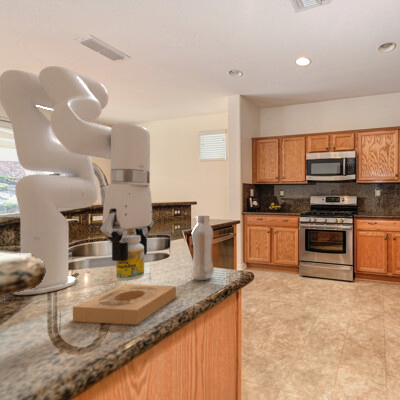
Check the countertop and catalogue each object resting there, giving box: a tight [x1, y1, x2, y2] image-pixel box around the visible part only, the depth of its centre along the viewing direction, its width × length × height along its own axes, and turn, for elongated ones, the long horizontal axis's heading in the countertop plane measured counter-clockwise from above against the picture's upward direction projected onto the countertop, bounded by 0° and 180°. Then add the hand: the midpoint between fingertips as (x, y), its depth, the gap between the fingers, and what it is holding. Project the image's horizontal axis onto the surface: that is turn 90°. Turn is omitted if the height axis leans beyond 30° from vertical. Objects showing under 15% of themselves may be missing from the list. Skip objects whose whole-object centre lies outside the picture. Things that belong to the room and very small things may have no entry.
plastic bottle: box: [191, 215, 215, 281], centre depth 80 cm, size 6×7×20 cm
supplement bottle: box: [115, 234, 145, 282], centre depth 59 cm, size 5×5×10 cm
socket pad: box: [72, 283, 177, 326], centre depth 59 cm, size 14×14×3 cm
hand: (130, 256), depth 59 cm, fingers closed on supplement bottle, 5 cm apart
